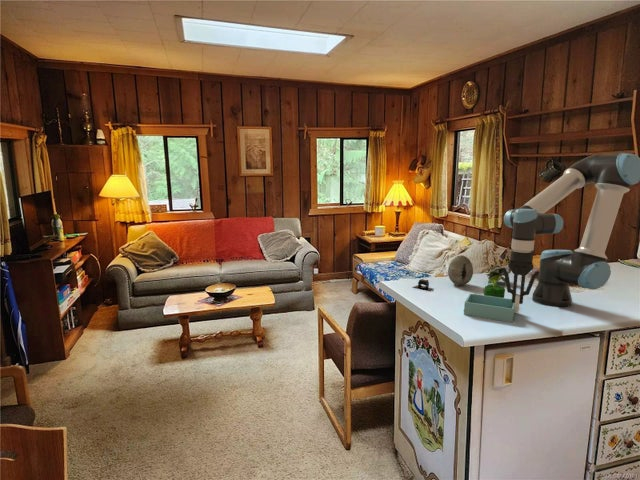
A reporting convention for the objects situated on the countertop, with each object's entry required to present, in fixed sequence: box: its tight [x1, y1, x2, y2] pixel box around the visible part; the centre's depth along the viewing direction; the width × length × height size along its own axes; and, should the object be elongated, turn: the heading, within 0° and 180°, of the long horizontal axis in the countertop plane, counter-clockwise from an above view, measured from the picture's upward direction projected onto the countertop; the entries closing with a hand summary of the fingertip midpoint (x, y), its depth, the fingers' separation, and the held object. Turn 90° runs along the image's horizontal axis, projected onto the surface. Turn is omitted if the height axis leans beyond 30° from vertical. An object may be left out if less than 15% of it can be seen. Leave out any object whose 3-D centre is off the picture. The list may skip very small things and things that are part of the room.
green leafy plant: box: [485, 264, 512, 287], centre depth 208 cm, size 11×11×12 cm
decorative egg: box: [447, 254, 474, 286], centre depth 204 cm, size 12×12×15 cm
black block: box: [412, 278, 434, 292], centre depth 199 cm, size 12×7×5 cm, turn 49°
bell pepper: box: [483, 280, 506, 298], centre depth 176 cm, size 8×8×10 cm
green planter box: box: [463, 292, 516, 323], centre depth 162 cm, size 18×13×5 cm
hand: (516, 311), depth 157 cm, fingers closed
